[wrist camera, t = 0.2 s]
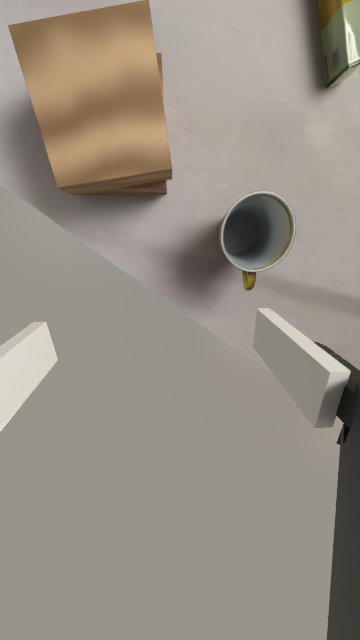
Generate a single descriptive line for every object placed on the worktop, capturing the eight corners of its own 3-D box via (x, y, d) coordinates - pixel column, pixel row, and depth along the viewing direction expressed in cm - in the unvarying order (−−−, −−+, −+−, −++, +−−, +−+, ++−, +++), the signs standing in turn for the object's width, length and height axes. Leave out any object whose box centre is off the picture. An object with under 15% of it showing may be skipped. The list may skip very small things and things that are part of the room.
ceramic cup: (209, 203, 36) (222, 191, 27) (268, 202, 36) (302, 190, 27) (207, 281, 41) (218, 294, 31) (260, 280, 41) (286, 292, 32)
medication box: (344, 82, 31) (368, 60, 28) (326, 90, 32) (347, 70, 28) (332, -36, 27) (359, -80, 24) (311, -25, 28) (334, -67, 24)
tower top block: (37, 63, 26) (8, 25, 21) (152, 42, 26) (148, -1, 21) (74, 195, 31) (57, 187, 26) (172, 179, 31) (172, 168, 26)
